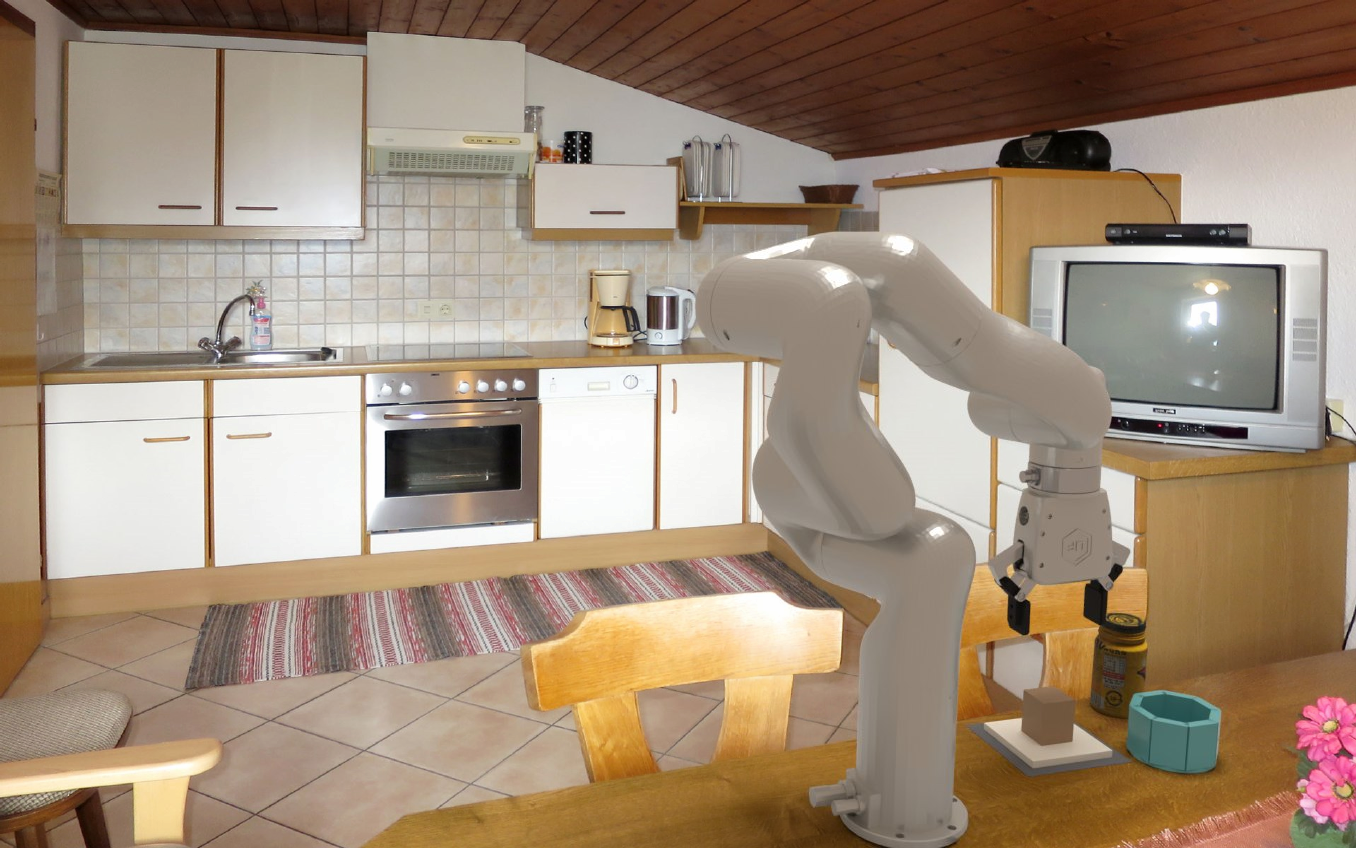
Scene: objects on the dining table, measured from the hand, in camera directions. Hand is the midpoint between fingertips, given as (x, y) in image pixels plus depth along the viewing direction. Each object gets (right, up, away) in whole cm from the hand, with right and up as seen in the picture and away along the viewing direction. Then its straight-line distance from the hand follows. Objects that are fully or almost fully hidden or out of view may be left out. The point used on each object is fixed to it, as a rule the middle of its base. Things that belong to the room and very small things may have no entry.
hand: (1056, 626), depth 124 cm
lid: (-1, -14, +2) cm, 14 cm away
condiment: (+10, -13, +11) cm, 20 cm away
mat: (-1, -14, +2) cm, 14 cm away
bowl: (+13, -15, -1) cm, 19 cm away
